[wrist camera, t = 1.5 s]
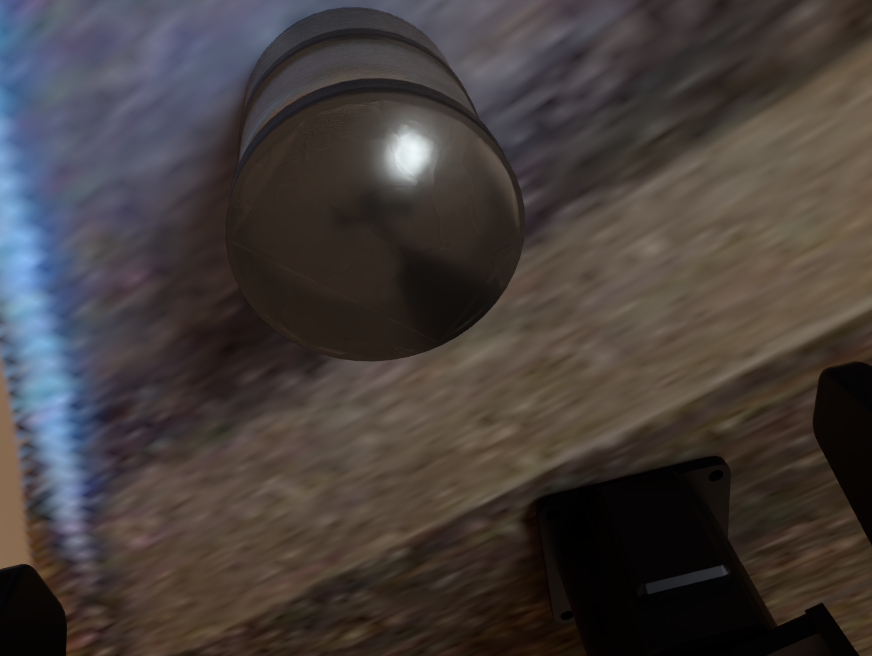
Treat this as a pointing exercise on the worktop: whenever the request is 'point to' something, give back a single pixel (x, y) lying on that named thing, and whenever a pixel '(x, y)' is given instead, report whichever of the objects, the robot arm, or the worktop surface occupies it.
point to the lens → (368, 192)
